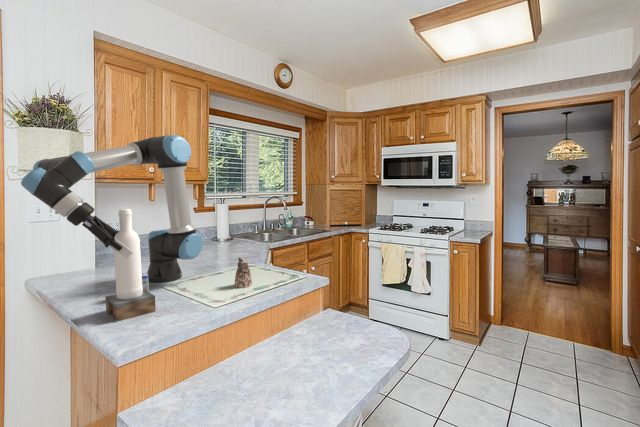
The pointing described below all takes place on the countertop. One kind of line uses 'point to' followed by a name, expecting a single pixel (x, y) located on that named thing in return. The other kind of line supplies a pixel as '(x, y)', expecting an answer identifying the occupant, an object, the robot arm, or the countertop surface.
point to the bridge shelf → (130, 306)
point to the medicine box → (145, 282)
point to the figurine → (243, 274)
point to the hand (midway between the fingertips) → (131, 251)
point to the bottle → (128, 260)
